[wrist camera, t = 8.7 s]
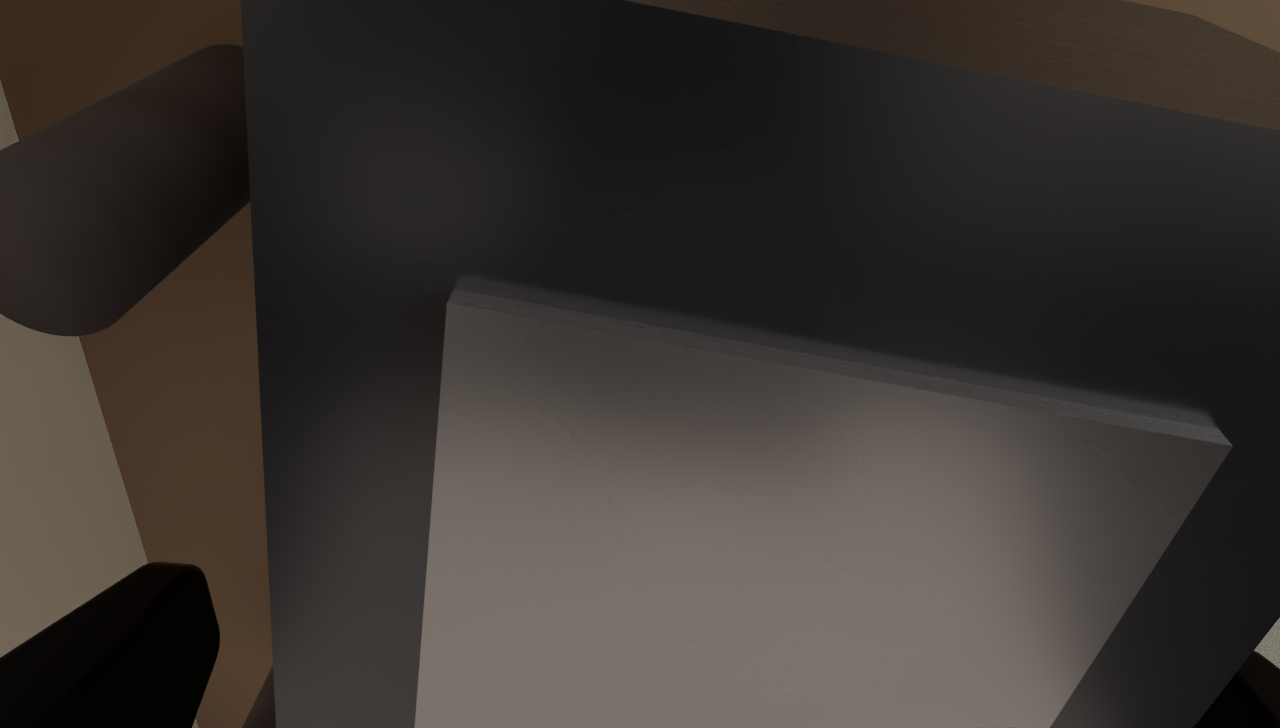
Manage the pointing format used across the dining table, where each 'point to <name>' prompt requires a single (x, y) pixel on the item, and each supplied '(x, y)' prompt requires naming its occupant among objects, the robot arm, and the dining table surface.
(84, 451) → the dining table surface
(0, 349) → the dining table surface
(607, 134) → the drive
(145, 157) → the wooden peg board
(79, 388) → the dining table surface
